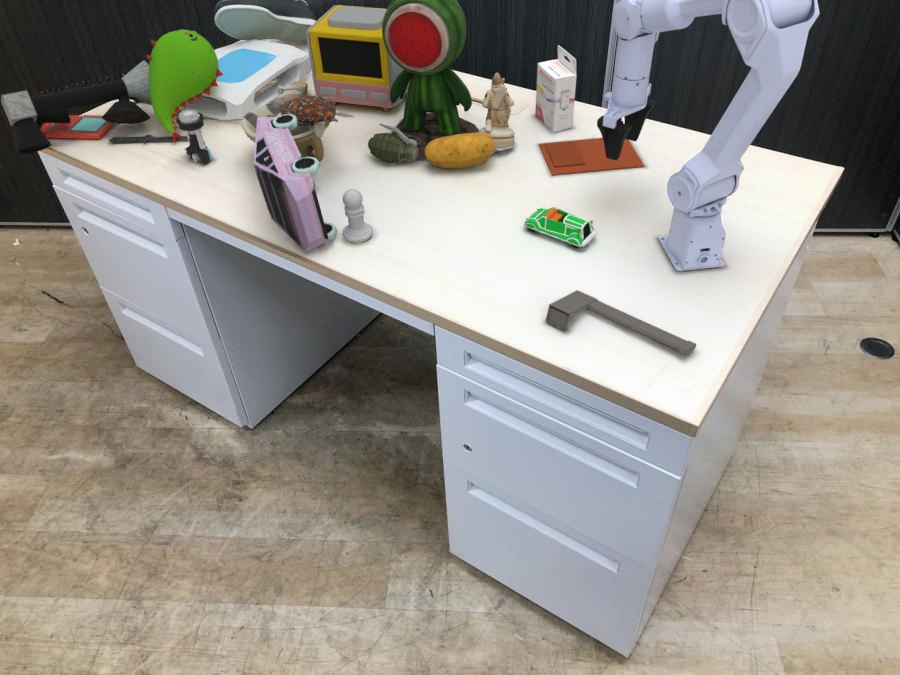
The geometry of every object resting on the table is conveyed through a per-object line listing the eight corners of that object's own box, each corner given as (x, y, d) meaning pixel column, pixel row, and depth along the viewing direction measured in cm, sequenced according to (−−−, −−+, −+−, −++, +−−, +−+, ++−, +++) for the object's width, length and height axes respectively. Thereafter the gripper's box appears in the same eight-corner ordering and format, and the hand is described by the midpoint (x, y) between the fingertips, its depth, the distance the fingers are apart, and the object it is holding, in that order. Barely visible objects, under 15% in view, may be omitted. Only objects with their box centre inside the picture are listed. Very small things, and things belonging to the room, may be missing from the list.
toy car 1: (344, 247, 131) (288, 265, 129) (310, 176, 148) (260, 190, 146) (326, 174, 120) (264, 192, 119) (291, 106, 138) (237, 121, 136)
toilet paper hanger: (691, 359, 111) (697, 342, 109) (665, 380, 105) (671, 362, 104) (575, 305, 121) (578, 289, 120) (545, 321, 115) (549, 304, 114)
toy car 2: (597, 238, 131) (600, 217, 128) (582, 253, 128) (585, 231, 125) (537, 216, 136) (538, 195, 133) (521, 230, 133) (522, 209, 130)
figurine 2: (506, 145, 159) (508, 69, 152) (520, 152, 153) (523, 73, 146) (473, 147, 157) (474, 70, 150) (485, 154, 151) (487, 74, 144)
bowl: (358, 154, 154) (352, 109, 148) (291, 193, 144) (282, 147, 138) (298, 129, 163) (291, 86, 156) (231, 164, 153) (220, 120, 146)
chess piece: (362, 246, 131) (356, 202, 125) (336, 238, 133) (329, 194, 127) (379, 230, 134) (374, 186, 128) (354, 223, 136) (347, 178, 130)
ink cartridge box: (533, 115, 164) (536, 47, 154) (554, 111, 166) (558, 43, 156) (552, 133, 158) (556, 63, 148) (573, 128, 160) (579, 59, 150)
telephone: (155, 132, 175) (15, 164, 161) (134, 77, 173) (-10, 105, 159) (168, 113, 162) (16, 146, 148) (146, 53, 160) (-11, 81, 146)
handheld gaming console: (53, 113, 170) (117, 114, 168) (55, 118, 171) (118, 120, 169) (31, 132, 163) (97, 134, 162) (33, 137, 164) (99, 139, 162)
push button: (177, 160, 155) (163, 114, 148) (196, 149, 158) (184, 103, 152) (201, 168, 152) (187, 122, 146) (220, 157, 156) (208, 111, 149)
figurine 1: (376, 155, 154) (358, -1, 134) (410, 112, 168) (399, -35, 148) (457, 165, 149) (452, 6, 129) (485, 120, 163) (485, -30, 143)
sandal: (260, 120, 167) (256, 98, 163) (288, 89, 178) (284, 68, 175) (289, 122, 166) (285, 100, 162) (315, 91, 177) (311, 69, 173)
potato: (497, 172, 147) (493, 140, 142) (426, 179, 148) (420, 148, 144) (496, 152, 152) (493, 120, 148) (428, 158, 154) (423, 128, 149)
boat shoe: (207, 33, 177) (193, -1, 178) (301, 54, 201) (288, 24, 202) (234, 3, 171) (220, -32, 172) (328, 27, 195) (315, -3, 196)
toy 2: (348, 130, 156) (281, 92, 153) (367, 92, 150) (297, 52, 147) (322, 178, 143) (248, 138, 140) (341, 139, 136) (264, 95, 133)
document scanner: (167, 109, 172) (159, 82, 168) (242, 60, 190) (237, 35, 186) (243, 125, 165) (237, 98, 161) (314, 73, 183) (310, 47, 179)
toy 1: (168, 30, 164) (237, 48, 165) (146, 138, 166) (214, 155, 167) (147, 11, 151) (222, 31, 152) (123, 128, 153) (198, 147, 154)
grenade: (376, 114, 151) (424, 125, 149) (375, 148, 156) (421, 159, 154) (363, 126, 146) (412, 137, 144) (362, 161, 151) (410, 173, 149)
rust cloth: (644, 166, 148) (644, 164, 147) (552, 175, 146) (552, 172, 146) (625, 136, 156) (626, 134, 156) (538, 144, 155) (539, 142, 155)
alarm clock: (314, 108, 170) (300, 24, 158) (342, 77, 181) (331, -3, 169) (397, 117, 166) (390, 31, 153) (420, 85, 177) (415, 3, 164)
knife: (106, 141, 160) (111, 134, 162) (108, 145, 161) (112, 138, 163) (193, 139, 160) (196, 132, 162) (194, 143, 161) (197, 136, 163)
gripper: (627, 52, 130) (618, 125, 140) (589, 84, 122) (582, 160, 131) (667, 60, 127) (655, 135, 136) (630, 94, 119) (620, 172, 128)
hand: (621, 148), depth 133 cm, fingers open, 7 cm apart
